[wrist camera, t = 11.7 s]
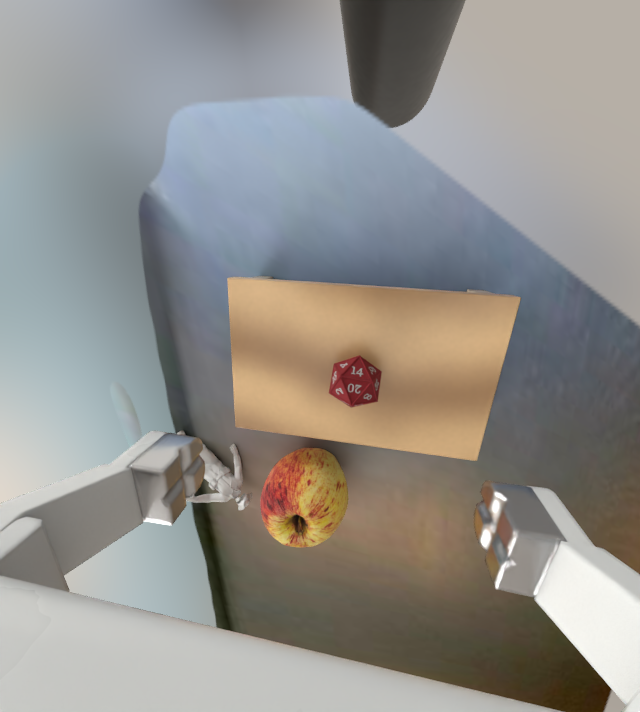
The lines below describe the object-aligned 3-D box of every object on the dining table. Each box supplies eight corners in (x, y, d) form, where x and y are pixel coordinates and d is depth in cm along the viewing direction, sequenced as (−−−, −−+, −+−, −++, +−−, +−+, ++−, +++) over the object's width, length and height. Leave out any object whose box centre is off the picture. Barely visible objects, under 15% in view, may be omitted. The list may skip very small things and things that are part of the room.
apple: (294, 418, 35) (266, 478, 25) (364, 450, 35) (362, 522, 25) (270, 473, 38) (236, 544, 29) (334, 502, 38) (321, 584, 28)
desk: (256, 273, 30) (227, 277, 24) (487, 287, 27) (521, 297, 21) (259, 397, 35) (235, 427, 29) (456, 421, 32) (476, 461, 25)
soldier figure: (198, 411, 38) (266, 474, 35) (209, 422, 42) (271, 478, 39) (146, 460, 35) (215, 534, 32) (164, 466, 39) (226, 532, 36)
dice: (384, 350, 24) (386, 368, 20) (374, 400, 25) (375, 425, 21) (337, 343, 24) (331, 360, 20) (330, 392, 26) (324, 416, 22)
